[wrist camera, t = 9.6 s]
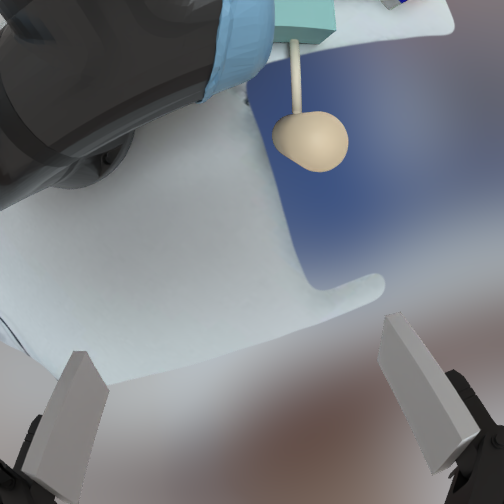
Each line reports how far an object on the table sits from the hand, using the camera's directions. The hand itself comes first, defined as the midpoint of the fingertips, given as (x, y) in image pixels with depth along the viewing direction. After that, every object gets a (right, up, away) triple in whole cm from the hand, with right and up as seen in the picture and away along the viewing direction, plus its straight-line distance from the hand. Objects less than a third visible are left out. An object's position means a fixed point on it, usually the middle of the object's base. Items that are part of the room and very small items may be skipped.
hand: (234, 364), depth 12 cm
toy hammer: (+5, +24, +17) cm, 30 cm away
